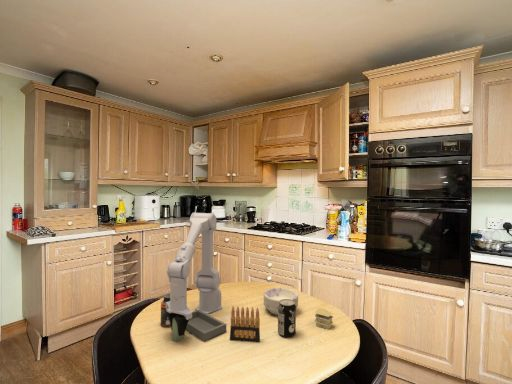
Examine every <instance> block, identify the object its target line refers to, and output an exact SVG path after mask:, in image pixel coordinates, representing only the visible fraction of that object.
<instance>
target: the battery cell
mask: <svg viewBox="0 0 512 384" xmlns="http://www.w3.org/2000/svg"><path fill="white" fill-rule="evenodd" d="M171 332H172V334H171V335H172V341H174V342H179V341H182V340H184V339H185V334H184V335H182V336H179V335H178V327H177V323H176V320H175V317H174V318H173V323H172V330H171Z"/></svg>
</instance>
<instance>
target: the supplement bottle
mask: <svg viewBox="0 0 512 384" xmlns="http://www.w3.org/2000/svg"><path fill="white" fill-rule="evenodd" d="M168 301H170V293H167V294H164V295H163V300H162V301H161V302H160V326H161V327H164V328H165V327H167V328H168V327H169V328H171V325H170V322H169V319H168V317H167V315H166V312H167V310H168V309H169V308H166V302H168Z"/></svg>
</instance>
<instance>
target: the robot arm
mask: <svg viewBox="0 0 512 384" xmlns="http://www.w3.org/2000/svg"><path fill="white" fill-rule="evenodd" d="M189 226H190V228H189V231H188V233H187V237H186V240H185V242H184V243H182V244H181V245H180V247H179V249H178V251H177V254H176V255H175V258H174V259H173V261H172V262H170V263H169V264H168V267H167V270H166V274H167V277H168V282H169V284H170V287H169V288H170V290H169V291H170V293H169V294H170V301H168V302H166V308H169V309H168V310H167V312H166V315H167V317H168V319H169V322H170V325H171V326H170V329H171V331H172V323H173V318H174V317H175V320H176V323H177V327H178V335H179V336H182V335H184V336H185V334H186V332H187V331H186V327H187V324H188V322H189V320H190V319H191V318H192V312H193V311H191V310H190V309H189V307H188V305H187V303H188V301H187V300H188V299H187V296H188V293H187V291H188V290H187V289H188V287H187V286H188V285H187V284H188V277H189V275H190V272H191V267H192V263H191V262H192V259H193V257H194V256H195V252H196V248H195V245H196V243H197V241H198V240H199V237H200V235H201V268H200V269H198V270H197V271H196V275H195V276H196V277H195V281H194V285H195V287H196V288H197V290H198V291H199V294H198V295H199V296H198V297H199V301H198V303H199V304H198V305H199V306H198V307H195V308H194V309H195V311H196V310H200V311H202V312H204V313H206V314H208V315H209V314H211V313H214V312H217V311H219V310H222V309H223V307H222V291H221V289H220V288H219V287H220V284H221V277H220V271H219V270H217V269H216V268H215V267H214V232H216V231H217V216H216V214H215V213H214V212H210V213H209V212H208V213H206V212H195V211H194V212H192V213H191V215H190V218H189Z"/></svg>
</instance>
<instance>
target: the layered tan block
mask: <svg viewBox="0 0 512 384" xmlns="http://www.w3.org/2000/svg"><path fill="white" fill-rule="evenodd" d="M314 313H315V316H314V317H315V320H314V322H315V326H316V327H319V328H323V329H326V330H330V329H331V328H332V327H333V323H334V321H333V318H334V316H333V314H334V313H333V312H331V311H329V310H327V309H325V308H321V307H320V308H316V310H315V312H314Z"/></svg>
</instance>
